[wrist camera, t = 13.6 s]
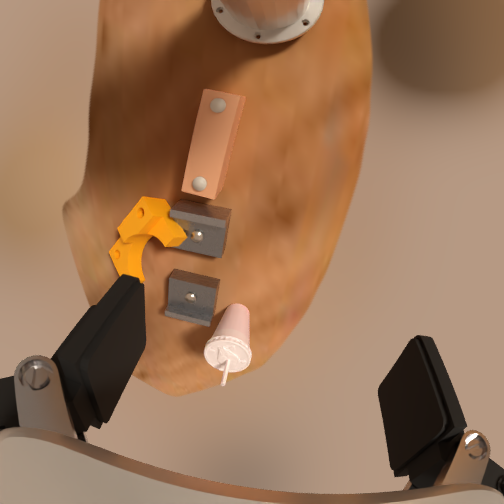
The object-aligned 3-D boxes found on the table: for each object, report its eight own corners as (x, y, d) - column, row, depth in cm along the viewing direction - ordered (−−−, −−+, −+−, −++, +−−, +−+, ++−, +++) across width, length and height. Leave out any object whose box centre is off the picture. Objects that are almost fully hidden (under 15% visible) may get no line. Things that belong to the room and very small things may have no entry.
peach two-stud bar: (214, 90, 34) (202, 88, 29) (246, 97, 34) (239, 96, 29) (193, 180, 39) (180, 191, 34) (222, 187, 39) (213, 200, 35)
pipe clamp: (142, 196, 37) (164, 237, 35) (165, 199, 41) (187, 237, 39) (99, 252, 41) (116, 290, 40) (121, 251, 45) (138, 286, 44)
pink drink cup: (227, 331, 50) (209, 399, 38) (210, 301, 48) (186, 368, 35) (263, 323, 48) (254, 393, 36) (249, 291, 46) (234, 361, 34)
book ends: (180, 199, 40) (170, 209, 37) (231, 209, 40) (225, 220, 37) (172, 300, 48) (164, 315, 45) (215, 310, 48) (209, 326, 45)
